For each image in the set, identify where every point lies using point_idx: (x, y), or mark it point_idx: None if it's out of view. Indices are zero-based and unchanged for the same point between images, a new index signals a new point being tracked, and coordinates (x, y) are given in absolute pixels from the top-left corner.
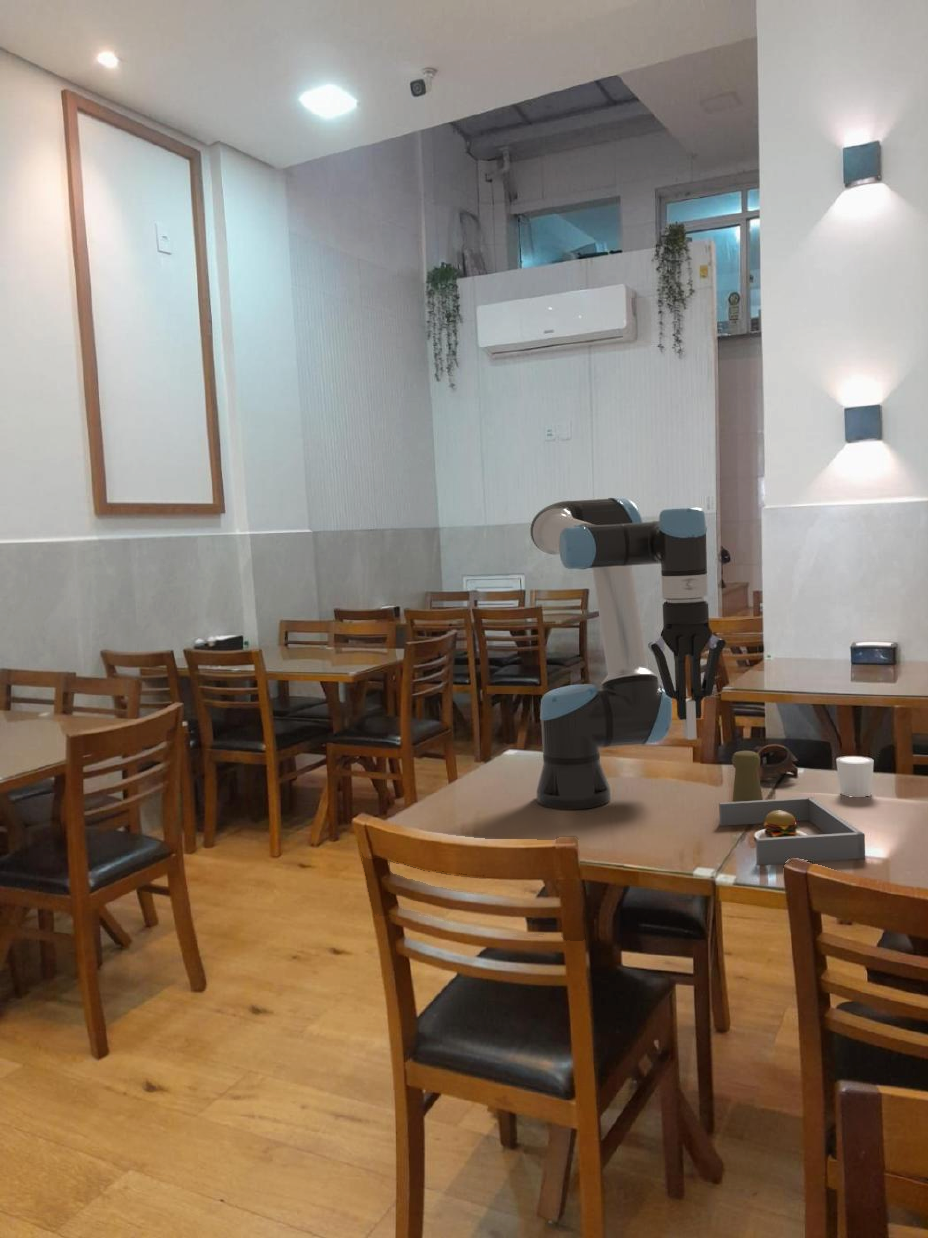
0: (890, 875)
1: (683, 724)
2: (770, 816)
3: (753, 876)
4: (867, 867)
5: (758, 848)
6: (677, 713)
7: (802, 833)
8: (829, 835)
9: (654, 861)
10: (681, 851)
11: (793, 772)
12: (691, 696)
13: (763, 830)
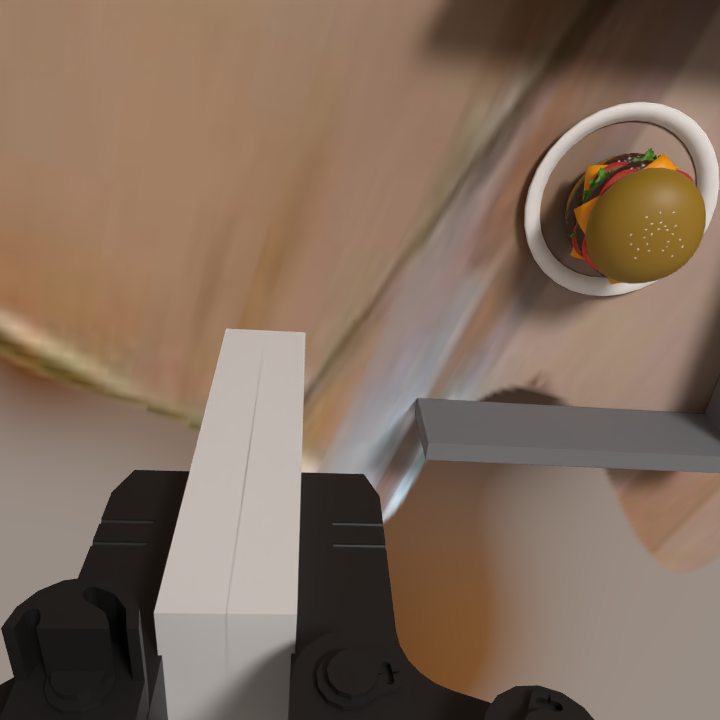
0: (679, 532)
1: (211, 392)
2: (606, 247)
3: None
4: (671, 481)
5: (422, 445)
6: (106, 521)
7: (712, 190)
8: (655, 465)
9: (106, 313)
10: (221, 241)
11: None
12: (300, 657)
13: (606, 113)
